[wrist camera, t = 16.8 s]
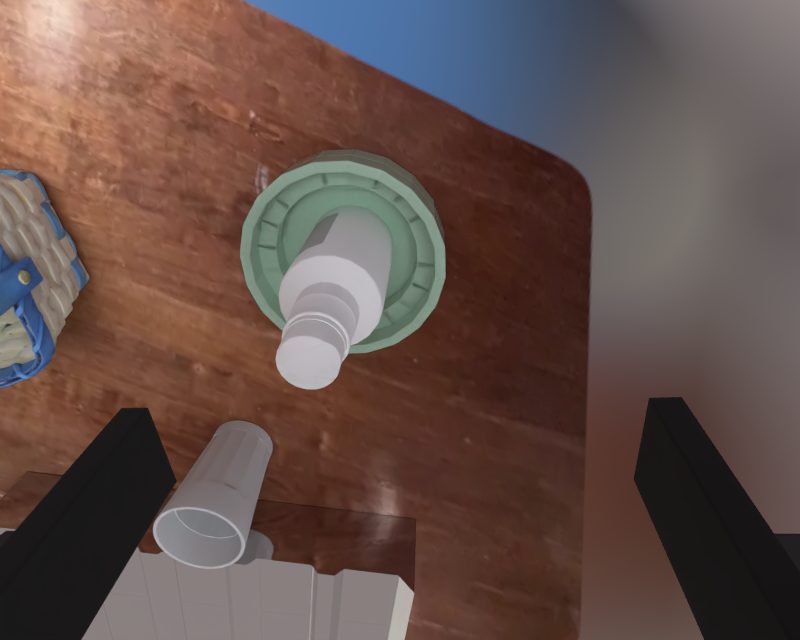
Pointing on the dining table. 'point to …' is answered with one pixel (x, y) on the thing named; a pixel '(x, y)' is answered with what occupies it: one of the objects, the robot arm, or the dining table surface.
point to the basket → (32, 276)
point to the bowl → (348, 186)
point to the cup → (216, 499)
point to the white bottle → (333, 294)
